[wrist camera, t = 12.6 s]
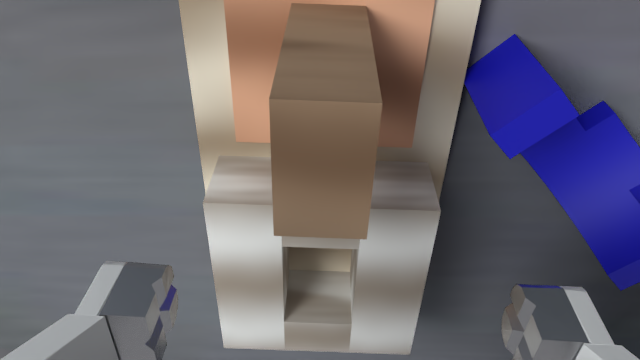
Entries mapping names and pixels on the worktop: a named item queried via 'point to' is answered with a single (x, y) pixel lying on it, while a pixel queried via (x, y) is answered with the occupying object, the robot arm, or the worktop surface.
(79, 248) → the worktop surface
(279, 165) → the plug
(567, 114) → the cable clip
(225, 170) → the board
